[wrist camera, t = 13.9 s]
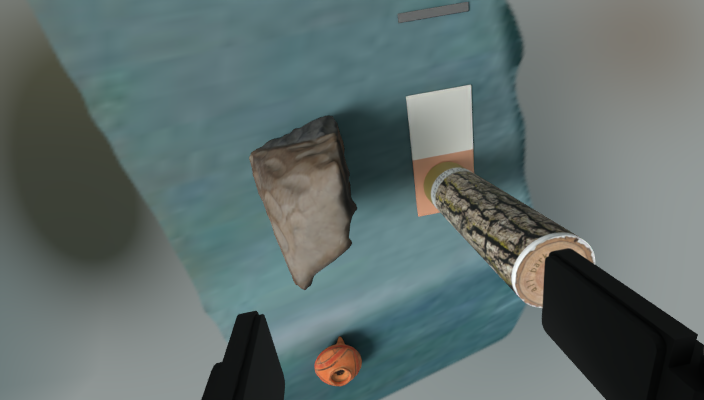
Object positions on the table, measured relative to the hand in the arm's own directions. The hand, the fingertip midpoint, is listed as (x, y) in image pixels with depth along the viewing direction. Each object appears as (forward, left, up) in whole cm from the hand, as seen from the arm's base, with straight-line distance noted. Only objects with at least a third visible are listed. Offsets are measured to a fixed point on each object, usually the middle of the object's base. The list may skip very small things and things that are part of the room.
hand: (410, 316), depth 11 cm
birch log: (+10, +14, -38) cm, 42 cm away
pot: (+38, -7, -39) cm, 55 cm away
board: (+1, +15, -38) cm, 41 cm away
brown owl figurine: (+3, -6, -38) cm, 39 cm away
